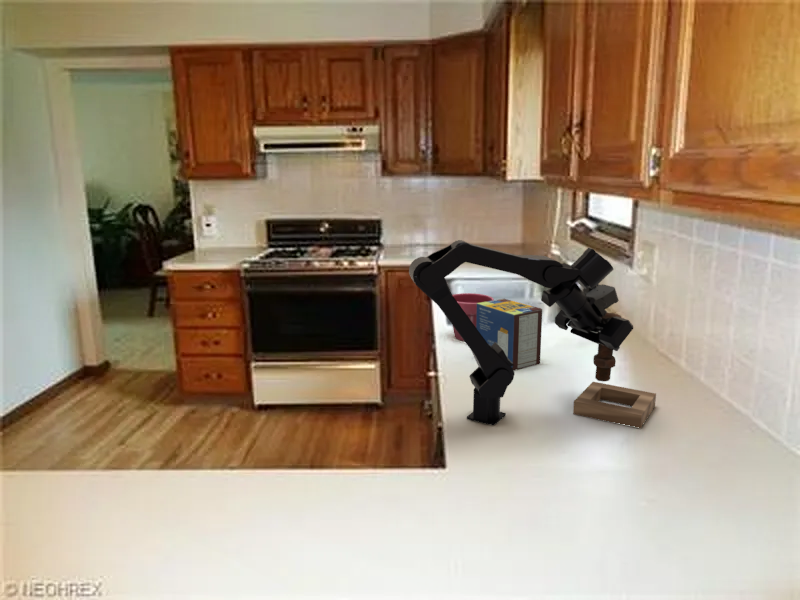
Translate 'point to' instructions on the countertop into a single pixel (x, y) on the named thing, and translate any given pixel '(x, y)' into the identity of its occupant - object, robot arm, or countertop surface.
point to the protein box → (512, 330)
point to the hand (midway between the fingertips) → (610, 346)
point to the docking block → (633, 416)
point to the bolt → (604, 357)
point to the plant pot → (469, 306)
